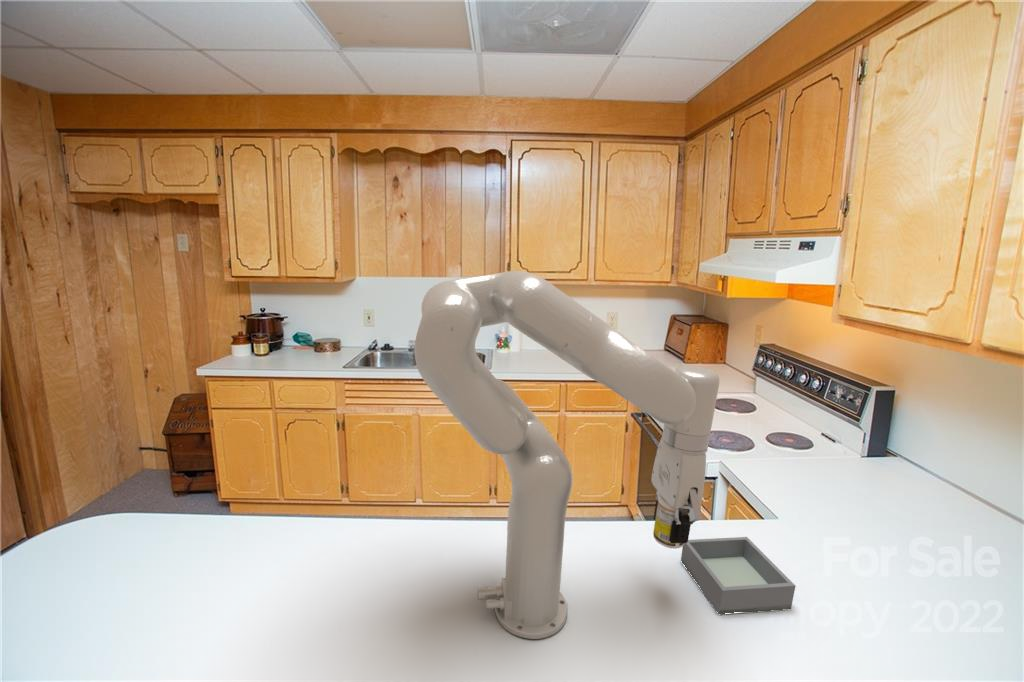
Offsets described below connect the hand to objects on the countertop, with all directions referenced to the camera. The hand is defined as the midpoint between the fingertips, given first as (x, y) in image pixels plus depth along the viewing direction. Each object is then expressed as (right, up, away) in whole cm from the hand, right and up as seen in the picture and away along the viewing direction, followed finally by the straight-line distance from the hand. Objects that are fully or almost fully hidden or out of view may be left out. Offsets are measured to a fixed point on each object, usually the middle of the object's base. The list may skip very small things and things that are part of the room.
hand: (669, 530), depth 85 cm
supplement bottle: (0, -2, 0) cm, 2 cm away
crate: (+14, -13, +6) cm, 20 cm away
